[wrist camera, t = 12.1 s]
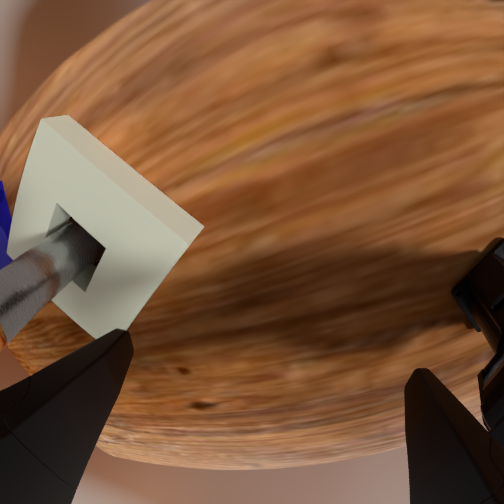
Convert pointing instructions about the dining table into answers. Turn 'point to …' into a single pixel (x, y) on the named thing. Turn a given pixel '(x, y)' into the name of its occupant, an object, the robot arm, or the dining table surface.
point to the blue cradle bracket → (4, 228)
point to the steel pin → (43, 275)
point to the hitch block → (98, 223)
